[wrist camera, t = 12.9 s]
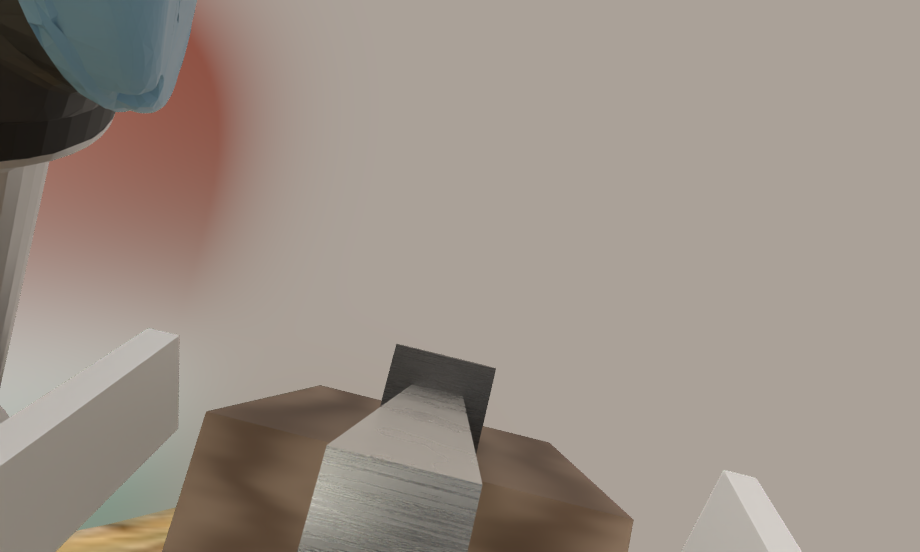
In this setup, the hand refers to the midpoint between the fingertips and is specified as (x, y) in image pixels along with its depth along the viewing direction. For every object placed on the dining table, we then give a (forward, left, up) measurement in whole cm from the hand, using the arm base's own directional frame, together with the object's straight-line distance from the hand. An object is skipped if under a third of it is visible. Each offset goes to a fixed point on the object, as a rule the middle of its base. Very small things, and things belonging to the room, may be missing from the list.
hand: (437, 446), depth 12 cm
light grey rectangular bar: (-1, +10, -3) cm, 11 cm away
